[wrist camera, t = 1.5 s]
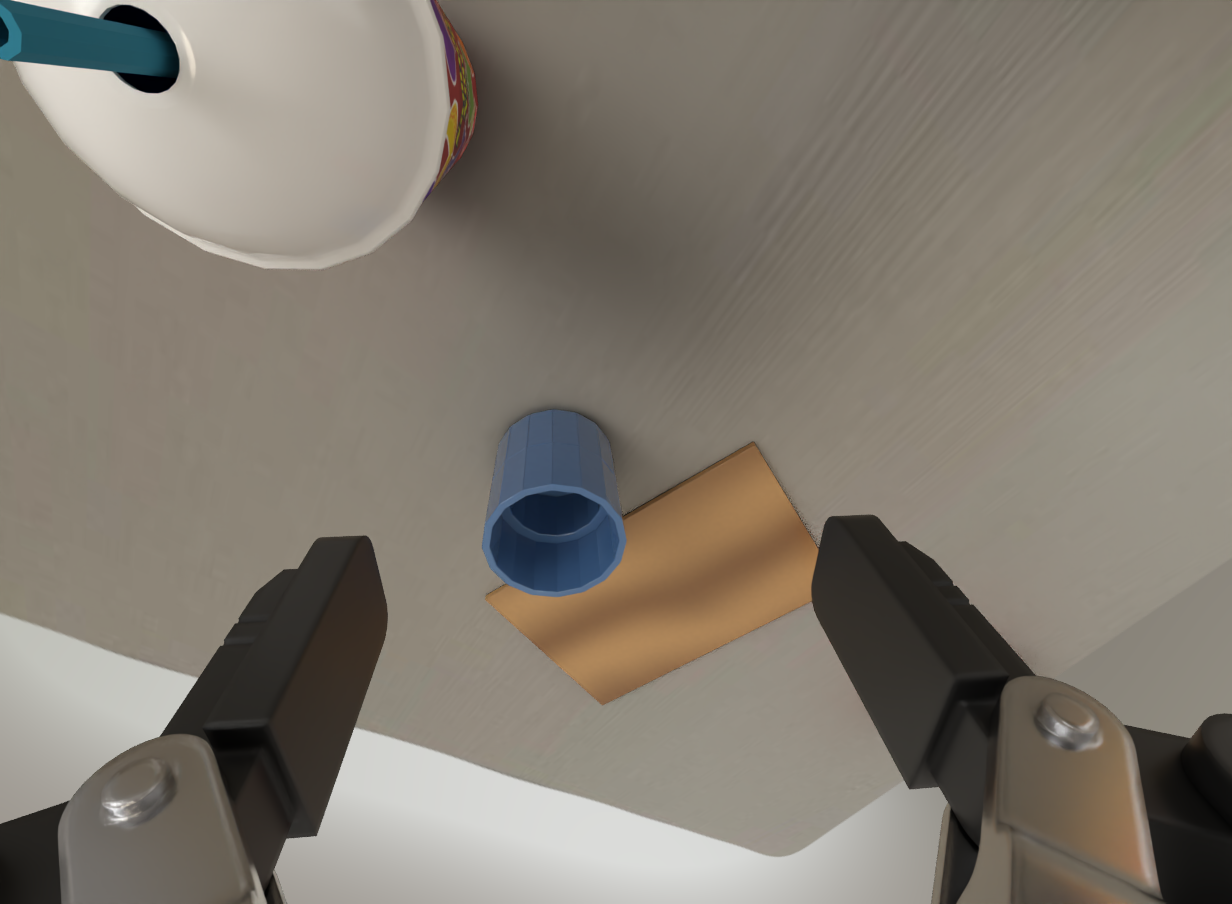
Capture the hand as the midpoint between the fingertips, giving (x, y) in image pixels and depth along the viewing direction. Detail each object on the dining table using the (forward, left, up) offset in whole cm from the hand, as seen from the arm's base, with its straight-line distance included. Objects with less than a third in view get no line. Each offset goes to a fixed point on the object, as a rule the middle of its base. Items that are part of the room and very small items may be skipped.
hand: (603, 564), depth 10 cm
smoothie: (-10, -2, -21) cm, 24 cm away
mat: (+21, -7, -21) cm, 30 cm away
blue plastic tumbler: (+8, -7, -21) cm, 23 cm away
